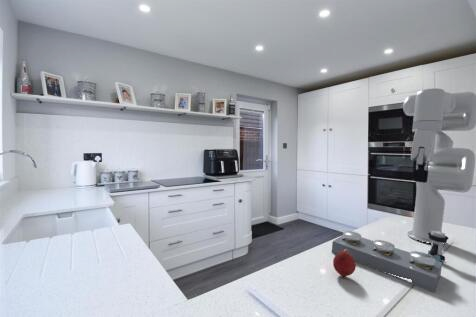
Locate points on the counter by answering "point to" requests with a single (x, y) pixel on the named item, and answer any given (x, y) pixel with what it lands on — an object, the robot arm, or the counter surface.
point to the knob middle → (383, 247)
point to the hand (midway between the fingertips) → (420, 181)
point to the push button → (437, 245)
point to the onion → (344, 263)
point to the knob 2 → (422, 259)
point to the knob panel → (390, 262)
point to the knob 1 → (352, 237)
